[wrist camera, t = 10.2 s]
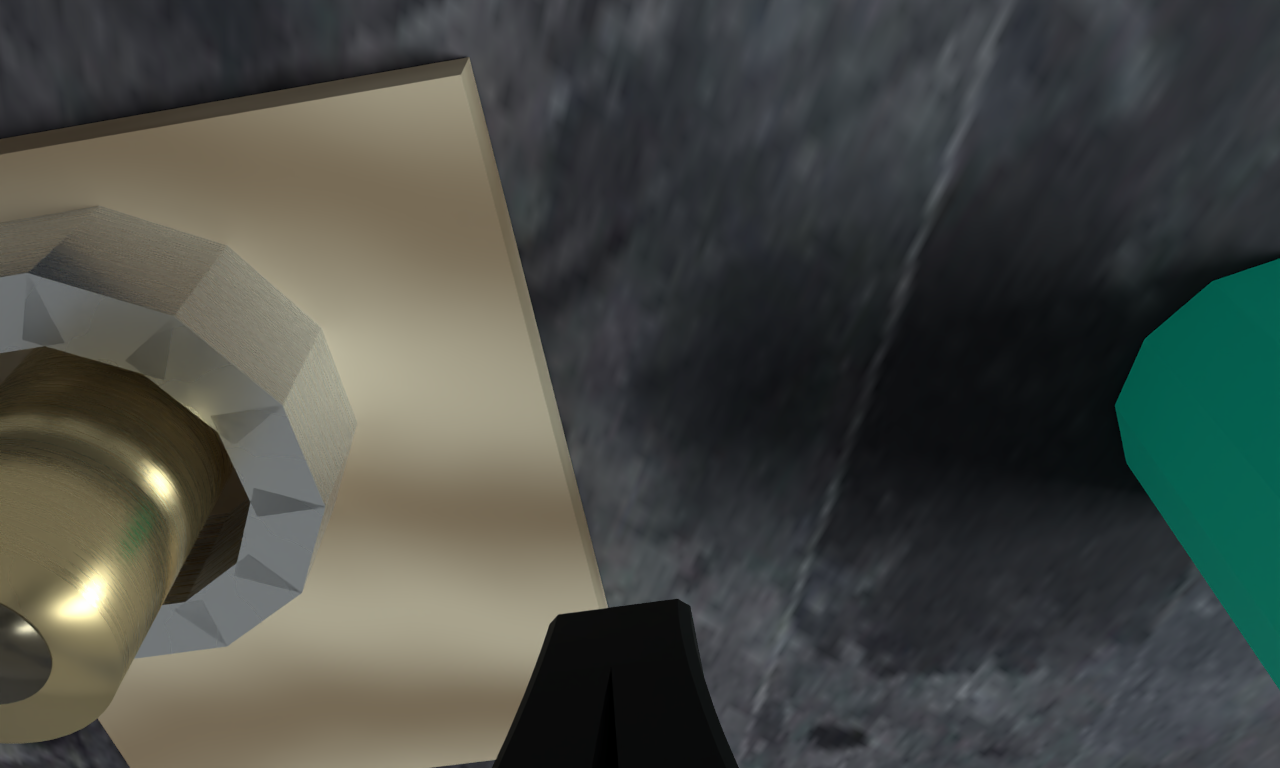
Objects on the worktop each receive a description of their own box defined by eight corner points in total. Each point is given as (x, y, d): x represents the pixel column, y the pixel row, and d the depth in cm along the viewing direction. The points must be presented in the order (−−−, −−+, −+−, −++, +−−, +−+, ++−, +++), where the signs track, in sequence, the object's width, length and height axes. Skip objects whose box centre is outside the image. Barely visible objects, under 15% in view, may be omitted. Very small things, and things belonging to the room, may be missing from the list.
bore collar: (400, 536, 21) (375, 626, 19) (39, 587, 22) (-23, 679, 20) (264, 177, 17) (214, 242, 15) (-176, 252, 18) (-284, 323, 16)
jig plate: (633, 709, 26) (633, 743, 25) (167, 766, 27) (152, 800, 26) (469, 57, 17) (460, 74, 16) (-208, 175, 18) (-249, 197, 17)
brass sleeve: (279, 474, 20) (164, 727, 15) (87, 505, 21) (-88, 761, 16) (197, 295, 18) (31, 518, 13) (-15, 332, 19) (-257, 564, 14)
